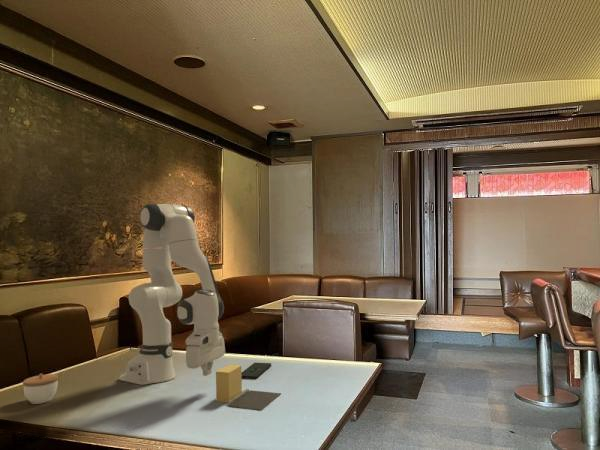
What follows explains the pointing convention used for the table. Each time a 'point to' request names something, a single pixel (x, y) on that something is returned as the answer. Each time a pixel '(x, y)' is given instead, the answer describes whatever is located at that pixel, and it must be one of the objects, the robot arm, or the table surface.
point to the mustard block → (228, 383)
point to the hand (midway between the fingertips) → (207, 374)
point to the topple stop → (252, 399)
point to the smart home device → (255, 370)
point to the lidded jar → (40, 388)
